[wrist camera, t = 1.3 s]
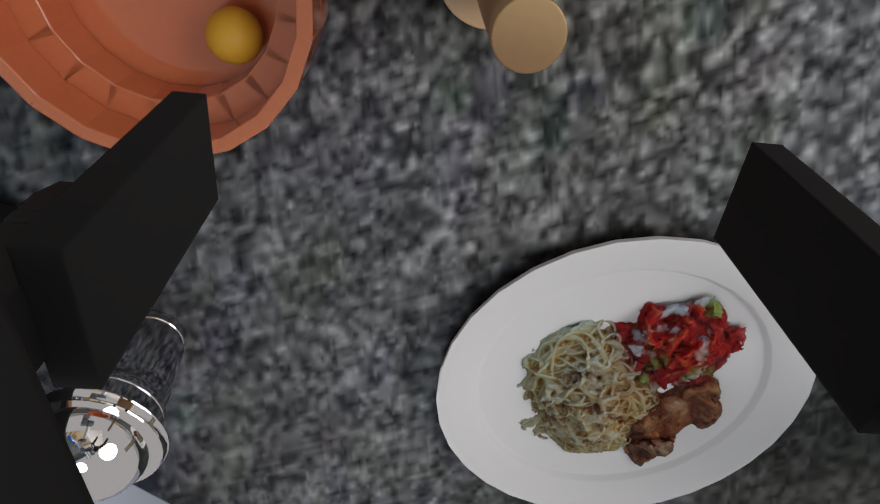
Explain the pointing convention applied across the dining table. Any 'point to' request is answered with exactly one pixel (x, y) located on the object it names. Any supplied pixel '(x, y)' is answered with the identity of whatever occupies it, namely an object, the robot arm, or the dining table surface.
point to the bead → (234, 35)
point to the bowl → (152, 62)
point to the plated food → (619, 376)
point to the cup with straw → (124, 411)
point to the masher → (517, 30)
